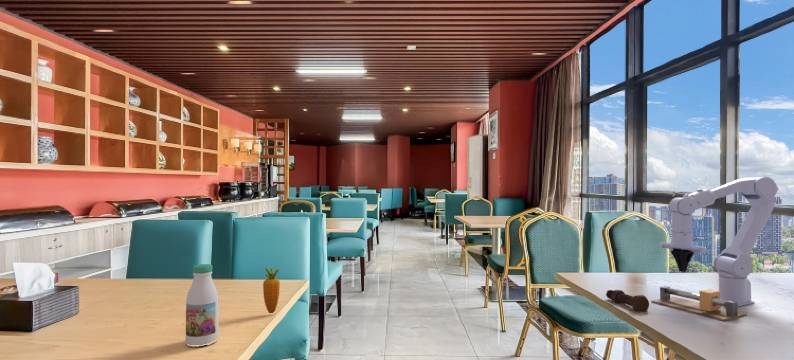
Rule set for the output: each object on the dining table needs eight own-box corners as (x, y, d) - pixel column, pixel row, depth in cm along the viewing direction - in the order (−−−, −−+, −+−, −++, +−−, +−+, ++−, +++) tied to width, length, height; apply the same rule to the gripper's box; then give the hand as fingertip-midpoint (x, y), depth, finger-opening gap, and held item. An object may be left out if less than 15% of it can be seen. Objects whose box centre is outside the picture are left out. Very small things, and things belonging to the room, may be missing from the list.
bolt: (611, 304, 146) (644, 316, 131) (600, 298, 145) (632, 309, 130) (618, 289, 147) (651, 299, 132) (607, 283, 146) (639, 292, 131)
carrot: (283, 313, 130) (283, 266, 131) (272, 318, 126) (272, 269, 126) (270, 311, 132) (270, 265, 133) (259, 316, 128) (259, 268, 128)
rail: (660, 300, 143) (660, 286, 143) (665, 299, 144) (665, 285, 144) (732, 318, 124) (732, 302, 124) (737, 317, 125) (737, 301, 125)
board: (651, 302, 141) (651, 300, 141) (673, 298, 146) (672, 296, 146) (724, 321, 121) (724, 318, 121) (746, 315, 127) (746, 313, 127)
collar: (699, 308, 130) (699, 290, 131) (710, 306, 133) (709, 288, 133) (710, 311, 128) (709, 293, 128) (720, 309, 130) (720, 291, 130)
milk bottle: (193, 337, 110) (193, 262, 110) (222, 336, 111) (222, 262, 111) (180, 348, 102) (180, 268, 103) (212, 347, 103) (212, 267, 103)
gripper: (654, 230, 148) (654, 268, 147) (697, 234, 134) (698, 276, 134) (666, 229, 151) (666, 266, 150) (710, 233, 137) (711, 274, 137)
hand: (682, 271), depth 143 cm, fingers closed
